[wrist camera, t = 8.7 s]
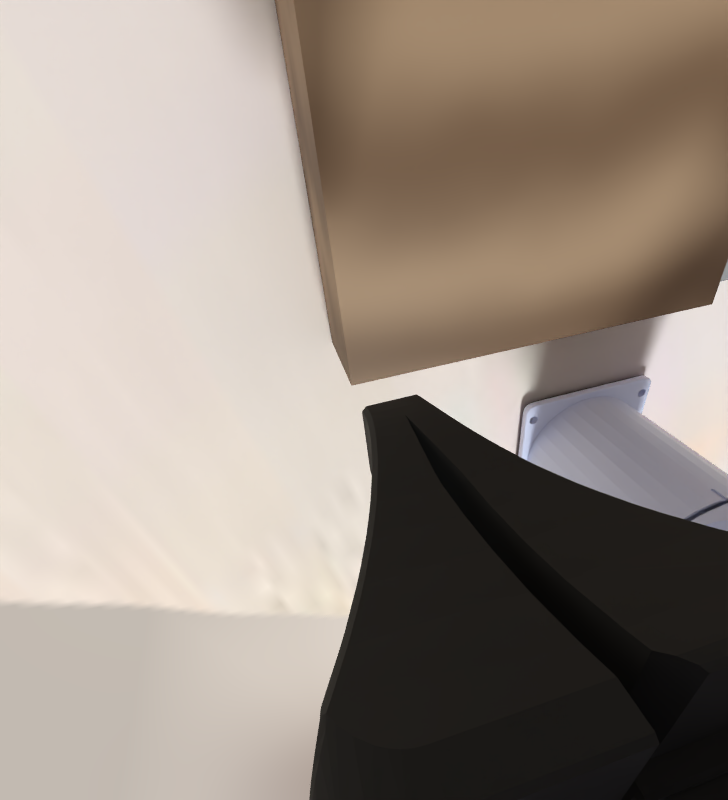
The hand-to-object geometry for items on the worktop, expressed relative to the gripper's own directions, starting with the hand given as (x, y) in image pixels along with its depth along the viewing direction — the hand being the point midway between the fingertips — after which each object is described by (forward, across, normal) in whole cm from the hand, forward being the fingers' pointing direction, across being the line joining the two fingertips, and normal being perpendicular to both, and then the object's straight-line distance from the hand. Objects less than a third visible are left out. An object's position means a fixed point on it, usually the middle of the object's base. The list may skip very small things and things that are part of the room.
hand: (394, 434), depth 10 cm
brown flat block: (+10, -8, -5) cm, 14 cm away
